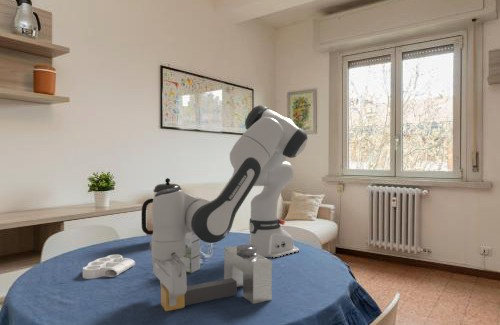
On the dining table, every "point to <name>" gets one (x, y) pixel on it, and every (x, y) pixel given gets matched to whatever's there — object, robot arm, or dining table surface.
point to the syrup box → (191, 253)
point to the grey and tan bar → (200, 293)
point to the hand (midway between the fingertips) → (168, 300)
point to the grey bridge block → (249, 272)
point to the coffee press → (156, 190)
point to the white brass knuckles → (107, 266)
